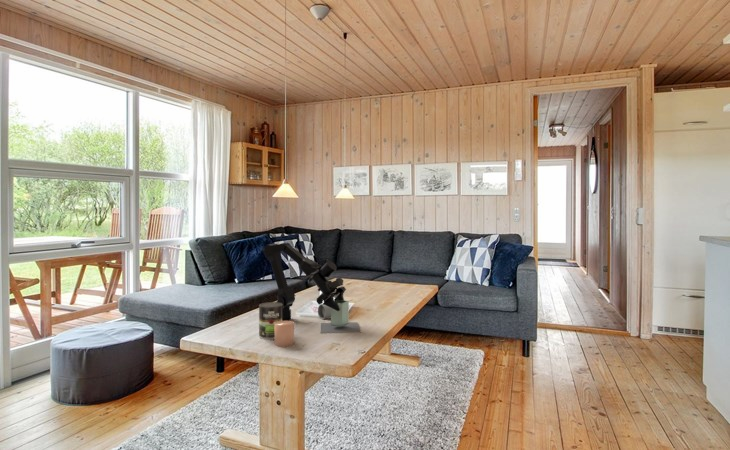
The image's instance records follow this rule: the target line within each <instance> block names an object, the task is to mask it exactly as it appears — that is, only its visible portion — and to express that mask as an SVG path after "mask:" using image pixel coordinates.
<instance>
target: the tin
mask: <svg viewBox="0 0 730 450" xmlns="http://www.w3.org/2000/svg"><path fill="white" fill-rule="evenodd" d="M334 301H335V303H336V304H337V306H338V307H339V309H340V310H339V311H337V310H335V309H333V308H331V318H330V323H331V325H332V326H338V327H343V326H345V325H347V324H348V322H349V313H350V312H349V309H350V308H349V306H350V305H349V300H346V299H344V300H334Z"/></svg>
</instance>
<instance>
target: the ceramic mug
mask: <svg viewBox="0 0 730 450" xmlns="http://www.w3.org/2000/svg"><path fill="white" fill-rule="evenodd" d="M317 315H318V317H319V319H321V320H325V319H326V320H327V319H331V307H329V306H326V305H323V303H322V304H318V308H317Z"/></svg>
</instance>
